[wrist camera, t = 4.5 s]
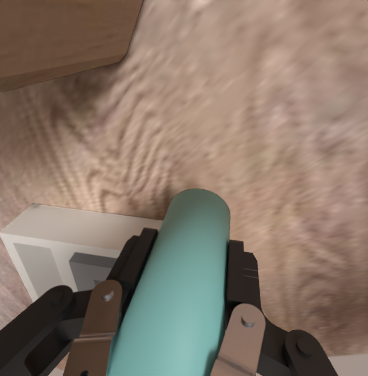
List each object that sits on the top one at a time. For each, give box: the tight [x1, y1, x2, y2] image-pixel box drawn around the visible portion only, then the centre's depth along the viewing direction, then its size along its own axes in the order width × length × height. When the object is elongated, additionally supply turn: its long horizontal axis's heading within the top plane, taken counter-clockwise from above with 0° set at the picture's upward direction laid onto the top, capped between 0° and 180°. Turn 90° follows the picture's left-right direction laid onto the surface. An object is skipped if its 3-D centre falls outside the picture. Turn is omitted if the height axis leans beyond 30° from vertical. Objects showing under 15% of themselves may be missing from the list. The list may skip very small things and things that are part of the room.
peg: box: [108, 189, 230, 376], centre depth 12 cm, size 4×4×10 cm
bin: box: [0, 204, 163, 303], centre depth 27 cm, size 20×18×4 cm
